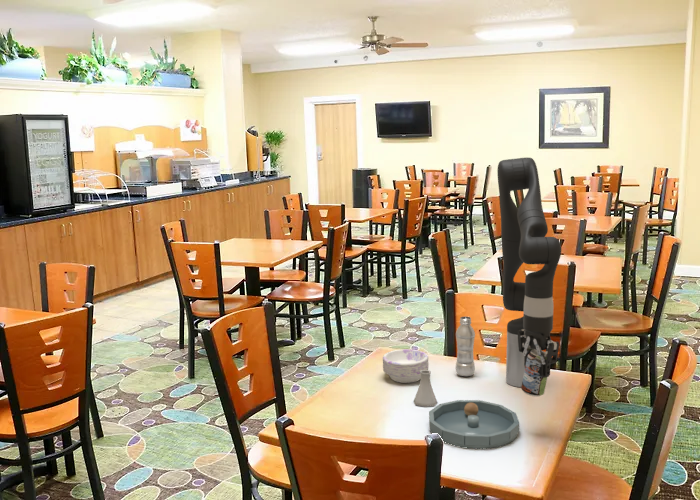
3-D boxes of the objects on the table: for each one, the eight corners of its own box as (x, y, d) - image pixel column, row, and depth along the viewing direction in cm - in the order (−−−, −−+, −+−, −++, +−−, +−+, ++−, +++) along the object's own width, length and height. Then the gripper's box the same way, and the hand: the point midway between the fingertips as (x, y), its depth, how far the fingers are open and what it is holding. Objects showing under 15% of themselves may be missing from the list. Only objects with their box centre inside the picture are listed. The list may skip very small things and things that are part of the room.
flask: (436, 408, 201) (436, 376, 199) (412, 406, 203) (412, 375, 201) (438, 399, 208) (438, 368, 206) (414, 397, 210) (414, 366, 208)
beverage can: (518, 390, 184) (518, 348, 182) (544, 388, 185) (545, 347, 183) (525, 399, 178) (527, 356, 176) (552, 398, 179) (554, 355, 176)
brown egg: (472, 412, 195) (473, 399, 194) (481, 417, 191) (481, 404, 191) (461, 415, 193) (461, 401, 193) (469, 420, 190) (469, 406, 189)
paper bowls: (374, 381, 224) (374, 358, 222) (396, 367, 237) (396, 346, 235) (416, 389, 216) (416, 366, 215) (436, 375, 229) (436, 352, 227)
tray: (483, 405, 202) (483, 394, 202) (536, 437, 181) (536, 424, 180) (413, 421, 192) (413, 409, 192) (461, 456, 171) (461, 443, 170)
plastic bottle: (477, 373, 229) (477, 316, 226) (471, 379, 223) (472, 321, 220) (458, 370, 232) (458, 314, 229) (452, 377, 226) (453, 319, 223)
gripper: (568, 316, 172) (566, 379, 175) (531, 304, 185) (530, 362, 188) (545, 321, 169) (544, 384, 172) (509, 307, 182) (508, 367, 185)
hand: (536, 372), depth 180 cm, fingers closed on beverage can, 6 cm apart
